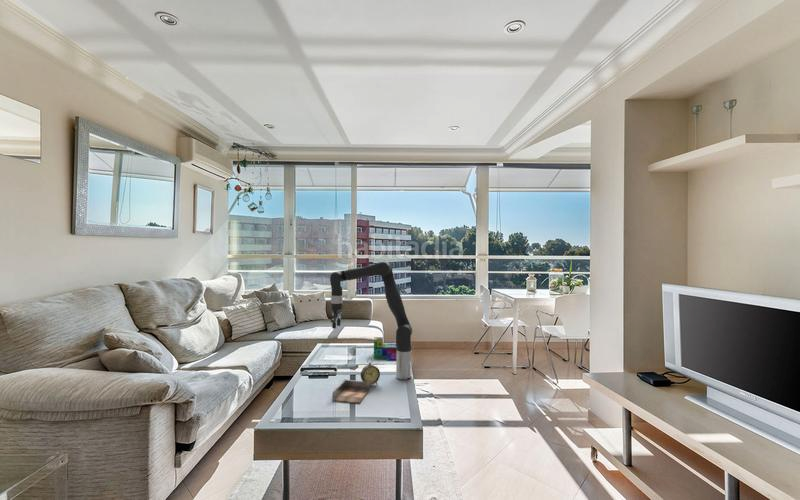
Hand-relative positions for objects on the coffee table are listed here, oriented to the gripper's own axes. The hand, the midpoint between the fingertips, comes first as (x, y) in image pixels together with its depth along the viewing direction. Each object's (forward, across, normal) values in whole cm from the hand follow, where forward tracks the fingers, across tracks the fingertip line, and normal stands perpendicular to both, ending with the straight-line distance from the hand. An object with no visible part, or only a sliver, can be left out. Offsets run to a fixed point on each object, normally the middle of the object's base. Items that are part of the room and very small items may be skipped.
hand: (336, 327), depth 249 cm
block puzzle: (+30, +40, -28) cm, 57 cm away
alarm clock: (+30, -18, -28) cm, 44 cm away
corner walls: (+29, -35, -22) cm, 51 cm away
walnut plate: (+29, -35, -22) cm, 51 cm away
